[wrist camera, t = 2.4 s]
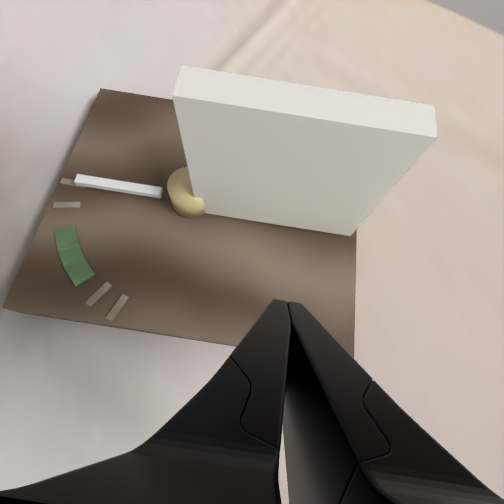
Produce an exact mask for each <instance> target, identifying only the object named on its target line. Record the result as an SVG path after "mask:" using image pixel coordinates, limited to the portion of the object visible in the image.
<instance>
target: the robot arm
mask: <svg viewBox="0 0 504 504" xmlns="http://www.w3.org/2000/svg"><path fill="white" fill-rule="evenodd" d="M372 380H373V379H372V378H371V377H370V376H369V374H368V373H367V372H366V371H365V370H364V369H363V368H362V367H361V366H360V365H359V364H358V363H357V362H356V361H355V360H354V359H353V357H352V356H351V355H350V354H349V353H348V352H347V351H346V350H345V349H344V348H343V347H342V346H341V345H340V344H339V343H338V342H337V340H336V339H335V338H334V337H333V336H332V335H331V334H330V333H329V332H328V331H327V330H326V329H325V328H324V327H323V326H322V325H321V323H320V322H319V321H318V320H317V319H316V318H315V317H314V316H313V315H312V314H311V313H310V312H309V311H308V310H307V309H306V308H305V306H304V305H303V304H301V303H297V302H291V301H289V302H286V301H285V300H278V299H273V300H272V301H271V302H270V304H269V305H268V306H267V308H266V309H265V310H264V312H263V313H262V314H261V315H260V317H259V318H258V319H257V321H256V322H255V323H254V325H253V326H252V327H251V329H250V330H249V331H248V333H247V334H246V335H245V337H244V338H243V339H242V340H241V342H240V343H239V344H238V346H237V347H236V348H235V350H234V351H233V352H232V354H231V355H230V356H229V358H228V359H227V360H226V361H225V363H224V364H223V365H222V366H221V368H220V369H219V370H218V371H217V373H216V374H215V375H214V376H213V377H212V379H211V380H210V381H209V382H208V383H207V384H206V385H205V386H204V387H203V388H202V389H201V390H200V391H199V392H198V393H197V394H196V395H195V396H194V397H193V398H192V399H191V400H190V401H189V402H188V403H187V404H186V405H185V406H184V407H182V408H181V409H180V410H179V411H178V412H177V413H176V414H175V415H174V416H173V417H172V418H171V419H170V420H169V421H168V422H167V423H166V424H165V425H164V426H163V427H162V428H161V429H159V430H158V431H157V432H156V433H155V434H154V435H153V436H152V437H151V438H149V439H148V440H147V441H146V442H144V443H143V444H141V445H140V446H138V447H137V448H135V449H133V450H132V451H130V452H127V453H125V454H122V455H119V456H116V457H113V458H110V459H107V460H104V461H101V462H98V463H95V464H91V465H88V466H85V467H82V468H79V469H76V470H73V471H70V472H67V473H64V474H61V475H58V476H55V477H52V478H49V479H46V480H43V481H40V482H37V483H34V484H30V485H27V486H23V487H19V488H15V489H9V490H4V491H0V504H281V497H280V490H279V481H278V469H279V452H280V445H281V434H282V423H283V434H284V446H285V458H286V470H287V482H288V494H289V504H504V499H502V498H501V497H499V496H498V495H497V494H495V493H494V492H493V491H491V490H490V489H489V488H488V487H487V486H485V485H484V484H483V483H482V482H481V481H480V480H478V479H477V478H476V477H475V476H474V475H473V474H472V473H471V472H470V471H469V470H467V469H466V468H465V467H464V466H463V465H462V464H461V463H460V462H459V461H458V460H456V459H455V458H454V457H453V456H452V455H451V454H450V453H449V452H448V451H447V450H446V449H444V448H443V447H442V446H441V445H440V444H439V443H438V442H437V441H436V440H435V439H433V438H432V437H431V436H430V435H429V434H428V433H427V432H426V431H425V430H424V429H423V428H421V427H420V426H419V425H418V424H417V423H416V422H415V421H414V420H413V419H412V418H411V417H410V416H409V415H408V414H407V413H406V412H405V411H403V410H402V409H401V408H400V407H399V406H398V405H397V404H396V403H395V402H394V400H393V399H392V398H391V397H390V396H389V395H388V394H387V393H386V392H385V391H384V390H383V389H382V388H381V387H380V386H379V385H378V384H377V383H376V382H375V381H372Z"/></svg>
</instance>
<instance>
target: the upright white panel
mask: <svg viewBox="0 0 504 504" xmlns="http://www.w3.org/2000/svg"><path fill="white" fill-rule="evenodd" d="M172 97H173V102H174V106H175V111H176V115H177V120H178V125H179V129H180V134H181V138H182V143H183V147H184V152H185V157H186V161H187V166H188V167H183V168H180V169H178V170H176V171H175V172H173V173H172V174H171V176H170V177H169V179H168V182H167V190H168V193H169V196H170V198H171V201H172V204H173V207H174V209H175V210H176V211H177V213H179V214H180V215H182V216H184V217H188V218H196V217H200V216H202V215H204V214H205V213H207V214H213V215H219V216H226V217H232V218H238V219H245V220H251V221H257V222H264V223H270V224H276V225H283V226H289V227H295V228H302V229H308V230H314V231H321V232H327V233H333V234H340V235H346V236H351V235H352V234H353V233H354V232H355V230H356V229H357V228H358V227H359V226H360V225H361V224H362V223H363V221H364V220H365V219H366V218H367V217H368V216H369V215H370V213H371V212H372V211H373V210H374V209H375V208H376V207H377V206H378V204H379V203H380V202H381V201H382V200H383V199H384V198H385V196H386V195H387V194H388V193H389V192H390V191H391V190H392V189H393V187H394V186H395V185H396V184H397V183H398V182H399V181H400V179H401V178H402V177H403V176H404V175H405V174H406V173H407V172H408V170H409V169H410V168H411V167H412V166H413V165H414V164H415V162H416V161H417V160H418V159H419V158H420V157H421V156H422V155H423V153H424V152H425V151H426V150H427V149H428V148H429V147H430V145H431V144H432V143H433V142H434V141H435V140H436V139H437V128H436V118H435V108H434V106H433V105H427V104H421V103H414V102H408V101H402V100H396V99H389V98H383V97H377V96H371V95H364V94H358V93H352V92H346V91H339V90H333V89H327V88H321V87H314V86H308V85H302V84H296V83H289V82H283V81H277V80H271V79H264V78H258V77H252V76H245V75H239V74H233V73H227V72H220V71H214V70H208V69H202V68H195V67H189V66H183V65H182V67H181V70H180V73H179V76H178V79H177V82H176V85H175V88H174V91H173V94H172ZM74 182H75V184H76V185H78V186H85V187H91V188H97V189H104V190H110V191H116V192H123V193H129V194H135V195H142V196H148V197H154V198H161V197H162V193H163V189H162V187H157V186H150V185H144V184H138V183H131V182H125V181H119V180H112V179H106V178H100V177H94V176H87V175H81V174H77V176H76V178H75V180H74Z"/></svg>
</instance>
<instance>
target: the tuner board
mask: <svg viewBox="0 0 504 504" xmlns="http://www.w3.org/2000/svg"><path fill="white" fill-rule="evenodd" d="M183 167H188V166H187V161H186V157H185V152H184V147H183V143H182V138H181V134H180V129H179V125H178V120H177V115H176V111H175V106H174V102H173V100H170V99H163V98H157V97H151V96H145V95H138V94H132V93H126V92H120V91H113V90H107V89H100V91H99V93H98V95H97V98H96V100H95V102H94V104H93V107H92V109H91V111H90V113H89V116H88V118H87V120H86V122H85V124H84V127H83V129H82V131H81V133H80V136H79V138H78V140H77V142H76V145H75V147H74V149H73V151H72V154H71V156H70V158H69V160H68V162H67V165H66V167H65V169H64V171H63V174H62V176H61V178H60V180H59V183H58V185H57V187H56V189H55V191H54V194H53V196H52V198H51V200H50V203H49V205H48V207H47V209H46V212H45V214H44V216H43V218H42V221H41V223H40V225H39V227H38V229H37V232H36V234H35V236H34V238H33V241H32V243H31V245H30V247H29V250H28V252H27V254H26V256H25V259H24V261H23V263H22V265H21V267H20V270H19V272H18V274H17V276H16V279H15V281H14V283H13V285H12V288H11V290H10V292H9V294H8V296H7V299H6V301H5V303H4V305H3V308H5V309H8V310H12V311H16V312H20V313H26V314H32V315H39V316H45V317H51V318H58V319H64V320H71V321H77V322H83V323H90V324H96V325H103V326H109V327H115V328H122V329H128V330H135V331H141V332H147V333H154V334H160V335H167V336H173V337H179V338H186V339H192V340H198V341H205V342H211V343H218V344H224V345H230V346H238V344H239V343H240V342H241V340H242V339H243V338H244V337H245V335H246V334H247V333H248V331H249V330H250V329H251V327H252V326H253V325H254V323H255V322H256V321H257V319H258V318H259V317H260V315H261V314H262V313H263V312H264V310H265V309H266V308H267V306H268V305H269V304H270V302H271V301H272V300H273V299H278V300H285V301H286V302H289V301H291V302H297V303H301V304H303V305H304V306H305V308H306V309H307V310H308V311H309V312H310V313H311V314H312V315H313V316H314V317H315V318H316V319H317V320H318V321H319V322H320V323H321V325H322V326H323V327H324V328H325V329H326V330H327V331H328V332H329V333H330V334H331V335H332V336H333V337H334V338H335V339H336V340H337V342H338V343H339V344H340V345H341V346H342V347H343V348H344V349H345V350H346V351H347V352H348V353H349V354H350V355H351V356H352V357H353V359H354V329H355V281H356V233H357V229H356V230H355V232H354V233H353V234H352V235H351V236H346V235H340V234H333V233H327V232H321V231H314V230H308V229H302V228H295V227H289V226H283V225H276V224H270V223H264V222H257V221H251V220H245V219H238V218H232V217H226V216H219V215H213V214H207V213H205V214H204V215H202V216H200V217H196V218H188V217H184V216H182V215H180V214H179V213H177V211H176V210H175V209H174V207H173V204H172V201H171V198H170V196H169V193H168V190H167V182H168V179H169V177H170V176H171V174H172V173H173V172H175V171H176V170H178V169H180V168H183ZM77 174H81V175H87V176H94V177H100V178H106V179H112V180H119V181H125V182H131V183H138V184H144V185H150V186H157V187H162V189H163V193H162V197H161V198H154V197H148V196H142V195H135V194H129V193H123V192H116V191H110V190H104V189H97V188H91V187H85V186H78V185H76V184H75V182H74V180H75V178H76V176H77Z"/></svg>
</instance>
